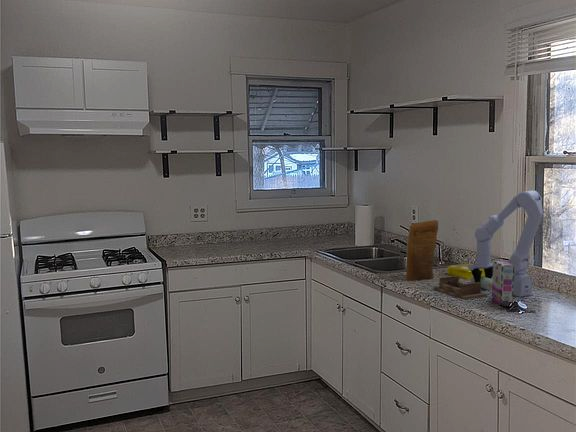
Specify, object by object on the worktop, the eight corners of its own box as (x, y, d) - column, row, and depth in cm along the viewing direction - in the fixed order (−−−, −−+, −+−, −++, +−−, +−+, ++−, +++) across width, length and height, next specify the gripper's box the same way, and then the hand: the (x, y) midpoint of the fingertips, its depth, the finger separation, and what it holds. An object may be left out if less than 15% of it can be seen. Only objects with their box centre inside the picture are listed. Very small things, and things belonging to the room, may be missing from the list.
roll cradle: (486, 296, 240) (487, 283, 239) (463, 299, 235) (464, 286, 235) (455, 286, 258) (456, 274, 258) (433, 289, 254) (433, 276, 253)
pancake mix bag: (441, 278, 275) (442, 220, 272) (409, 282, 267) (410, 223, 264) (432, 275, 281) (433, 219, 278) (400, 279, 273) (401, 221, 270)
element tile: (490, 276, 280) (490, 266, 279) (469, 280, 272) (469, 270, 271) (466, 271, 292) (466, 262, 292) (445, 274, 284) (445, 265, 284)
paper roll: (495, 289, 251) (495, 278, 251) (486, 290, 250) (486, 279, 249) (479, 284, 261) (479, 274, 260) (470, 285, 259) (470, 275, 258)
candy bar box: (513, 307, 223) (514, 265, 222) (500, 307, 223) (501, 265, 222) (503, 299, 234) (504, 260, 233) (491, 299, 235) (492, 260, 233)
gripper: (490, 251, 260) (489, 281, 261) (464, 254, 254) (463, 284, 256) (501, 254, 253) (500, 284, 255) (474, 256, 248) (474, 287, 249)
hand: (482, 284), depth 255 cm, fingers closed on paper roll, 5 cm apart
